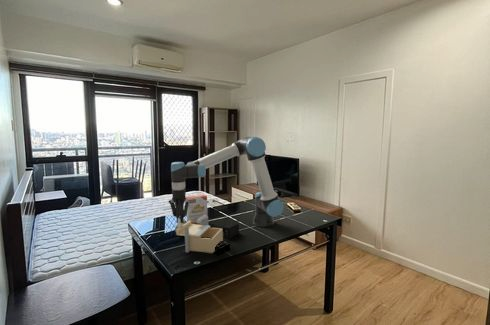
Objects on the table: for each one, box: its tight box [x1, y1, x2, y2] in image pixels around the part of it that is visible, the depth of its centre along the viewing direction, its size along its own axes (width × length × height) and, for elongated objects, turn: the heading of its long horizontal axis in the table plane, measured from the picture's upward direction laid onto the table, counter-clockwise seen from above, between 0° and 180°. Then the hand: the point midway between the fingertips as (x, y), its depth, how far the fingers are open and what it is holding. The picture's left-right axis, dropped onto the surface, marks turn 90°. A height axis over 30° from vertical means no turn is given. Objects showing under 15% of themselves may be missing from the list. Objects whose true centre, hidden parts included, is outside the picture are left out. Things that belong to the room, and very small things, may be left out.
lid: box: [175, 221, 211, 237], centre depth 150 cm, size 14×16×3 cm
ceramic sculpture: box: [174, 220, 187, 232], centre depth 171 cm, size 11×9×15 cm
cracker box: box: [185, 194, 208, 225], centre depth 183 cm, size 14×6×21 cm, turn 116°
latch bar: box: [196, 213, 208, 223], centre depth 159 cm, size 2×12×2 cm, turn 165°
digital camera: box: [222, 221, 240, 240], centre depth 164 cm, size 10×5×7 cm, turn 144°
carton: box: [184, 215, 224, 254], centre depth 152 cm, size 15×28×14 cm, turn 165°
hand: (180, 228), depth 150 cm, fingers closed
